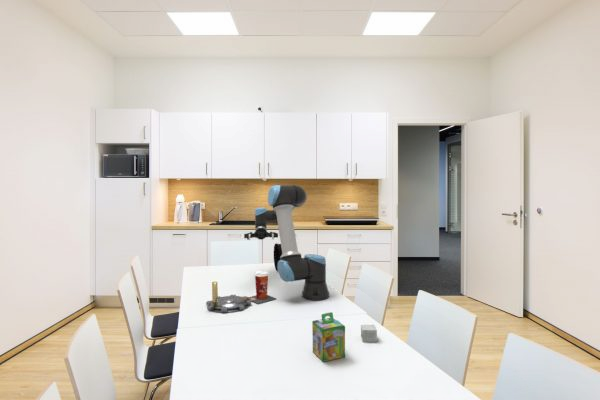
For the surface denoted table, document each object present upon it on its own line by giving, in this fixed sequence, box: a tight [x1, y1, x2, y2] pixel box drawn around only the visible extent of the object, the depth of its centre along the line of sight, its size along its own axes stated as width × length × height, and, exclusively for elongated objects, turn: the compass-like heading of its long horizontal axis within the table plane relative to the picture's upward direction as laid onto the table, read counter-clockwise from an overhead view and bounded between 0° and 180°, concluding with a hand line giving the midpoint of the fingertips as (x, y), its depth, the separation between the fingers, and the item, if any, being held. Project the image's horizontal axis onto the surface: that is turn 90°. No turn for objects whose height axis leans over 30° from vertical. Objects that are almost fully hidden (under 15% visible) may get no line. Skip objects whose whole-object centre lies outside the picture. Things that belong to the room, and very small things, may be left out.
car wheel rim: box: [273, 243, 282, 272], centre depth 259 cm, size 20×10×20 cm, turn 16°
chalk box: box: [311, 312, 346, 363], centre depth 127 cm, size 9×9×15 cm
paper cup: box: [254, 270, 269, 299], centre depth 191 cm, size 8×8×14 cm
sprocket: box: [205, 281, 253, 312], centre depth 181 cm, size 23×23×13 cm
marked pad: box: [248, 294, 277, 305], centre depth 191 cm, size 12×12×1 cm
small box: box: [360, 324, 378, 343], centre depth 139 cm, size 6×6×5 cm
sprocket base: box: [206, 304, 251, 314], centre depth 181 cm, size 22×22×1 cm
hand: (261, 237), depth 203 cm, fingers open, 13 cm apart
